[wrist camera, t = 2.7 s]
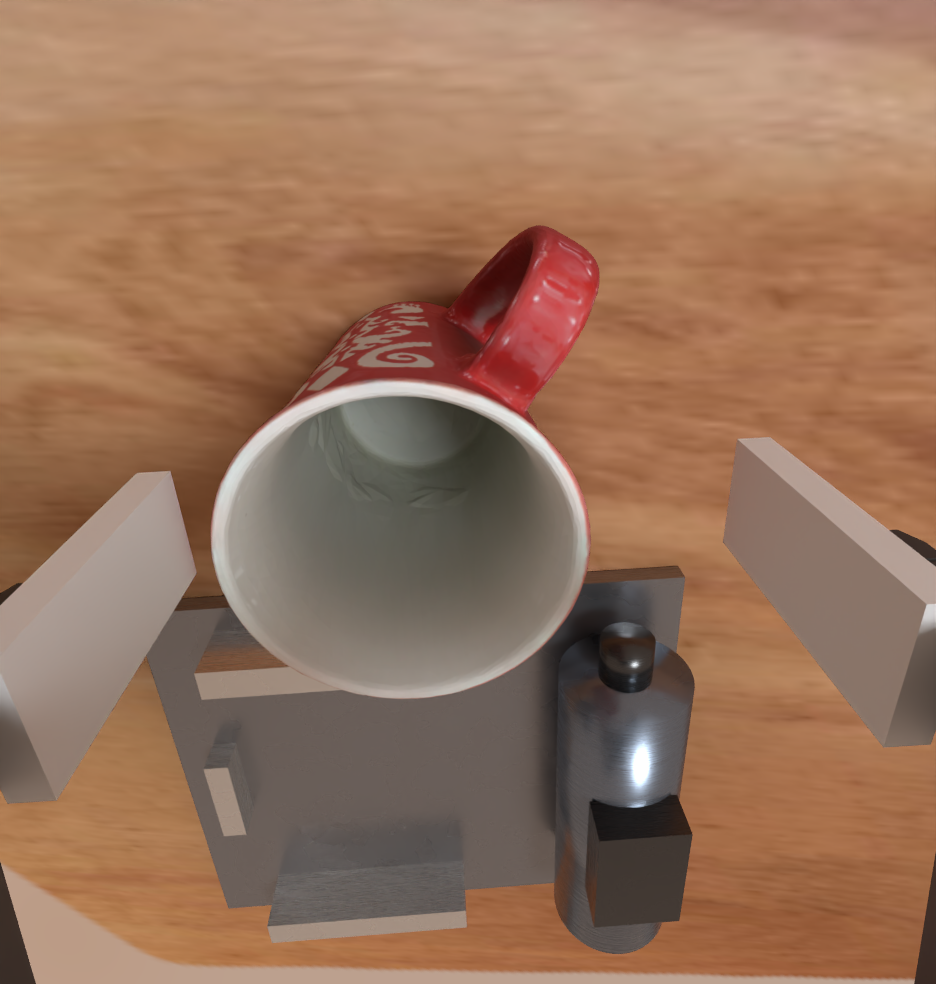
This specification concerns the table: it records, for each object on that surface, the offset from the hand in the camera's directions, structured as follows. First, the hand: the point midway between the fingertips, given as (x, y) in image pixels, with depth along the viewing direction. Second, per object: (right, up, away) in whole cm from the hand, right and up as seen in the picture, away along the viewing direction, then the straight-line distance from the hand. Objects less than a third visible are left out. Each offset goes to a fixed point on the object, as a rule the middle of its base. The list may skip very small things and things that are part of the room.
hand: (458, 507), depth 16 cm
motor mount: (-2, -14, +21) cm, 25 cm away
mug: (-1, +6, +12) cm, 13 cm away
